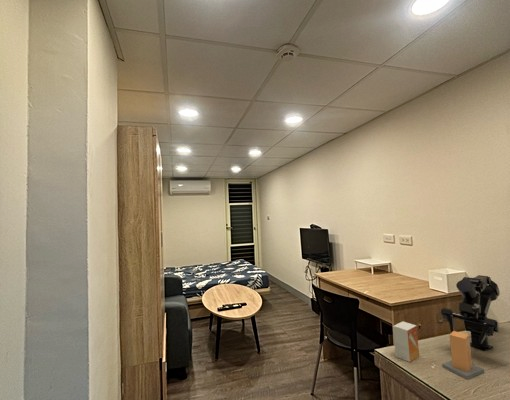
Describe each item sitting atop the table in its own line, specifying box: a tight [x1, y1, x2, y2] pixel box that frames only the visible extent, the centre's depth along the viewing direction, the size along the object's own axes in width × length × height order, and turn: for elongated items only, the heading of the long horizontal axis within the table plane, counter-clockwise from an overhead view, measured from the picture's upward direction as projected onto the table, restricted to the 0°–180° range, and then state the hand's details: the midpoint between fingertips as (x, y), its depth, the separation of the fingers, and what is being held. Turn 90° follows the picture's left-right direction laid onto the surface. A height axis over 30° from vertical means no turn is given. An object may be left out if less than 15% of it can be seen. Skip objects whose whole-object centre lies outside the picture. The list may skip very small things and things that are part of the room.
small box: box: [392, 320, 420, 363], centre depth 115 cm, size 8×6×13 cm
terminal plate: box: [441, 360, 485, 380], centre depth 103 cm, size 10×9×4 cm
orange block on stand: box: [449, 330, 473, 372], centre depth 103 cm, size 5×5×12 cm
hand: (465, 338), depth 109 cm, fingers open, 9 cm apart
